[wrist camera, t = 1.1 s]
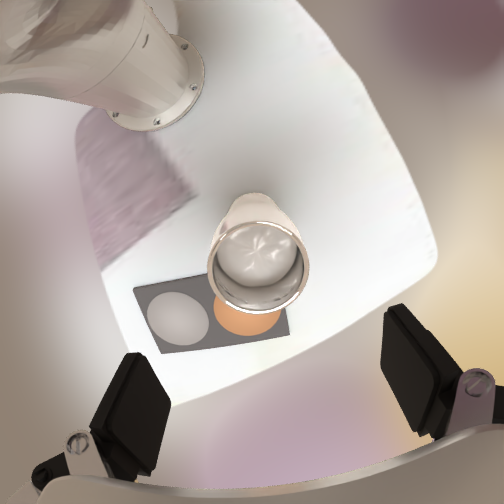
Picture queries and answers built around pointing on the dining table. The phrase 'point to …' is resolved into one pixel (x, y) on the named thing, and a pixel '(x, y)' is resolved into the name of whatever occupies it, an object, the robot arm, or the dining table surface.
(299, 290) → the beer glass
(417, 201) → the dining table surface
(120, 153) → the dining table surface
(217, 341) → the mat
